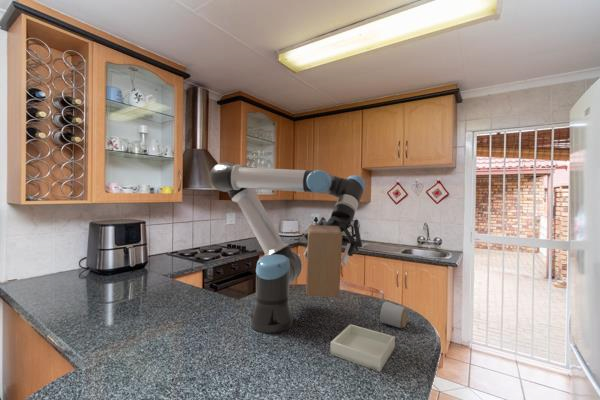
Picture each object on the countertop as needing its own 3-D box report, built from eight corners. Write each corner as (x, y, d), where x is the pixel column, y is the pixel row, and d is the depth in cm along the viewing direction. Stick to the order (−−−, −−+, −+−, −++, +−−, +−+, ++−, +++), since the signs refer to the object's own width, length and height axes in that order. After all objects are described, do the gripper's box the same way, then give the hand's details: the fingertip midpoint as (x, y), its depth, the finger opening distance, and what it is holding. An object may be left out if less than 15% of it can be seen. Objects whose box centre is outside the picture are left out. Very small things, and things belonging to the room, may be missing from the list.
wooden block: (337, 284, 95) (340, 225, 92) (339, 299, 85) (342, 233, 82) (306, 282, 95) (308, 224, 93) (305, 297, 85) (307, 231, 83)
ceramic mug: (402, 332, 98) (403, 309, 98) (379, 325, 103) (380, 304, 103) (410, 322, 107) (411, 301, 107) (388, 316, 112) (389, 296, 112)
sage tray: (330, 354, 83) (330, 342, 83) (349, 334, 96) (350, 324, 96) (380, 371, 75) (380, 358, 75) (394, 348, 88) (394, 336, 88)
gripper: (381, 219, 97) (364, 273, 85) (317, 215, 111) (295, 261, 98) (376, 204, 93) (358, 258, 80) (311, 201, 106) (286, 248, 94)
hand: (323, 260), depth 89 cm, fingers closed on wooden block, 13 cm apart
